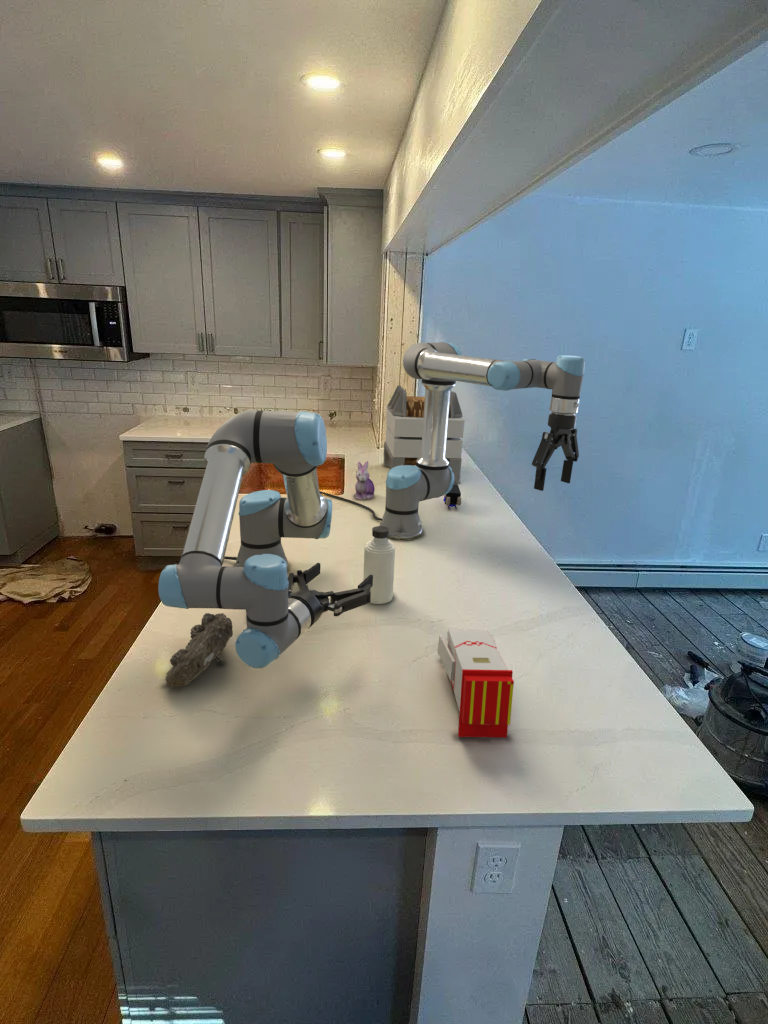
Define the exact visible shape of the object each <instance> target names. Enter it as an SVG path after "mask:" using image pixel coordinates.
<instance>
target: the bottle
mask: <svg viewBox="0 0 768 1024" xmlns="http://www.w3.org/2000/svg"><path fill="white" fill-rule="evenodd" d="M395 560H396V545H395V544H394V543H393V542H392V541H391V540H390V539H389V538H383V539H380V538H375V537H373V538H372V539H370V540H368V541H367V542H366V543H365V545H364V553H363V578H362V579H363V580H362V581H364V580H365V579H366V578H367V577H368V576H369V575H373V586H372V587H371V589H370V592H371V601H370V603H369V604H376V605H383V604H386V603H390V602H391V601H392V600H393V599H394V598H393V597H394V580H395Z"/></svg>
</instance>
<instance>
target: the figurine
mask: <svg viewBox="0 0 768 1024" xmlns="http://www.w3.org/2000/svg"><path fill="white" fill-rule="evenodd" d="M368 468H369V460H367V461H365V463H364V464H363V465H362V462H360V461H358V462H357V472H356V474H355V478H356V480H357V481H356V483H355V488H354V489H355V493H354V497H355V499H356V500H361V501H362V500H363V501H364V500H370V499H372V498H374V496H375V491H376V488H375V484H374V482H373V481H372V479H370V473H369V471H368Z"/></svg>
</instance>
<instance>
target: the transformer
mask: <svg viewBox="0 0 768 1024" xmlns="http://www.w3.org/2000/svg"><path fill="white" fill-rule="evenodd" d="M407 394H408V393H407V390H406V389H404V388H403V387H402V385H399V384H398V385H397V386H396V388H395V390H394V392H393V394H392V395H391V398H390V400H389V402H388V404H387V405H386V413H385V414H386V415H385V423H386V428H385V438H384V442H383V466H384V467H388V468H389V470H390V469H392V468H394V467H396V466H401V465H404V466H405V465H413V466H416V461H417V459H418V458H420V457H421V449H422V434H423V419H424V404H425V396H415V395H414V396H413V395H412V396H411V395H407ZM464 429H465V419H464V418H463V411H462V408H461V405H460V402H459V398H458V395H457V392H455V391H453V390H451V392H450V404H449V416H448V428H447V441H446V453H445V458H446V459H447V461H448V462H449V466H450V467H451V469H452V473H454V484H459V483H461V472H462V461H463V460H462V453H463V442H464V441H463V440H462V439H463V438H464V431H465V430H464Z"/></svg>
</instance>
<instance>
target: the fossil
mask: <svg viewBox="0 0 768 1024" xmlns="http://www.w3.org/2000/svg"><path fill="white" fill-rule="evenodd" d="M233 627H234V625H233V621H232V619H231V618H230V617H227V615H226V614H225V613H224V612H221V613H220V612H219V613H215V614H214V613H210V612H208V613H207V612H205V613H204V614H203V616H202V618H201V622H200V624H199V623H198V624H195V625H194V626H192V627H191V629H190V636H189V637H190V638H191V639H190V640H189V641H188V642H187V645H186V646H185V648H180V649H178V650H177V652H175V653H174V654H173V655H171V657H170V659H169V663H170V665H171V666H172V667H171V668H170V670H168V671H167V672H166V676H165V681H166V685H167V686H171V687H172V688H179V687H183V686H187V685H189V684H190V683H191V682H192V681H193V680H194V679H195V678H197V677H198V676H199V675H200V674H201V673H202V672H204V670H206V669H207V668H208V667H209V665H210V664H211V662H212V661H213V660H215V659H216V660H217V661H218V662H219V664H222V663H223V660H222V659H221V658H220V657H219V656H218V654H219V653H220V652H223V650H224V649H225V648H226V647H227V644H228V642H229V641H230V639H231V638H232V637H233V636H234V635H233V634H234V633H233V632H234V630H233Z"/></svg>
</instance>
